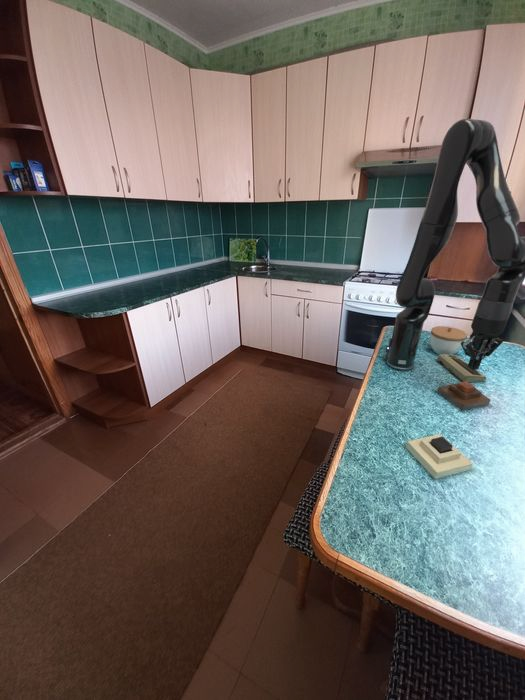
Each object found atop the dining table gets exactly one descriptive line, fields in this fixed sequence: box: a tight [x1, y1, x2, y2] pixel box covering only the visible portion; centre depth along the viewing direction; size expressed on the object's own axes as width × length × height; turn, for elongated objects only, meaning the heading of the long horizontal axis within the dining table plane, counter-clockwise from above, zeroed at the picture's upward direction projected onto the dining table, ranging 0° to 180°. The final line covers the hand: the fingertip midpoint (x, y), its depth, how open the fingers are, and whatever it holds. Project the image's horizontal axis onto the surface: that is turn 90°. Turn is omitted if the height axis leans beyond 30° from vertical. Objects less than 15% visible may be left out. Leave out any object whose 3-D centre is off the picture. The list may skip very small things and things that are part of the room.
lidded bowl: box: [429, 325, 468, 356], centre depth 119 cm, size 13×13×11 cm
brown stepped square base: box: [436, 382, 492, 412], centre depth 92 cm, size 10×10×4 cm
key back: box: [457, 381, 476, 393], centre depth 91 cm, size 3×3×2 cm
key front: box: [430, 436, 454, 454], centre depth 70 cm, size 3×3×2 cm
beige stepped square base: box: [405, 433, 474, 480], centre depth 71 cm, size 10×10×4 cm
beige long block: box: [436, 354, 487, 383], centre depth 107 cm, size 16×8×3 cm, turn 3°
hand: (472, 368), depth 88 cm, fingers closed
